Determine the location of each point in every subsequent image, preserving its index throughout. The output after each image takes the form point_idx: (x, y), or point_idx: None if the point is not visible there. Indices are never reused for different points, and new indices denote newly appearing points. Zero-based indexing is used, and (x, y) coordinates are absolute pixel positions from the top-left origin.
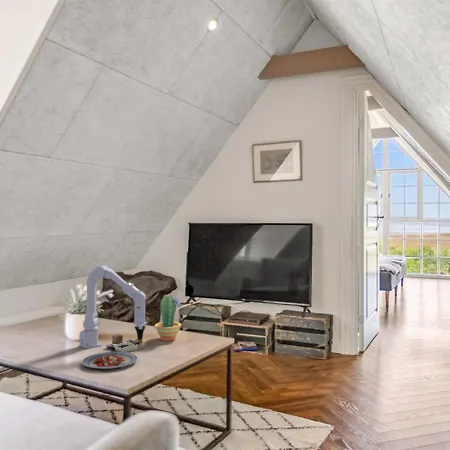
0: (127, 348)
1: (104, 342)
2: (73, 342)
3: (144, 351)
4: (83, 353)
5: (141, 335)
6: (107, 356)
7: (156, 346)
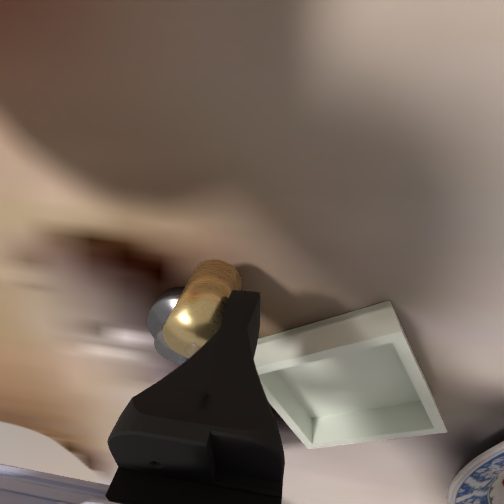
0: (433, 399)
1: None
2: None
3: (492, 258)
4: (326, 501)
5: (248, 335)
6: (499, 478)
7: (342, 93)
